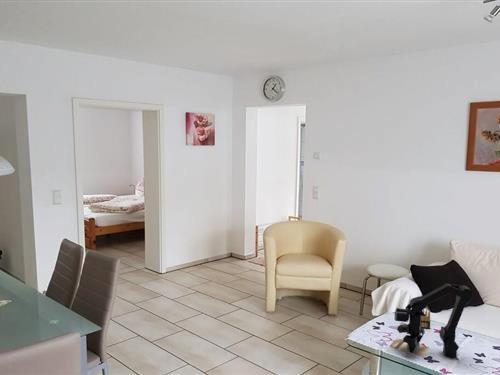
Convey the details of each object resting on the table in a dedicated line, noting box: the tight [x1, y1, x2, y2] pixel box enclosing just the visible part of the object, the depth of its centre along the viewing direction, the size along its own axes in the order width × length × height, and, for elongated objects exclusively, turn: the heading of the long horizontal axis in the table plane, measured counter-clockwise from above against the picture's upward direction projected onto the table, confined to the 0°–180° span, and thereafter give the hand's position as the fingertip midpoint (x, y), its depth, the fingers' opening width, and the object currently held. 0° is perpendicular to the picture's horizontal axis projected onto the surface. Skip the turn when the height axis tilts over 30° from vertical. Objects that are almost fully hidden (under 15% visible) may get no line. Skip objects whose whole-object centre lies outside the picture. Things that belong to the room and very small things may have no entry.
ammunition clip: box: [420, 309, 431, 330], centre depth 254 cm, size 11×2×12 cm, turn 84°
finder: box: [406, 342, 421, 356], centre depth 221 cm, size 5×5×5 cm
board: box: [388, 337, 431, 358], centre depth 226 cm, size 18×14×1 cm
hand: (413, 350), depth 221 cm, fingers open, 7 cm apart
